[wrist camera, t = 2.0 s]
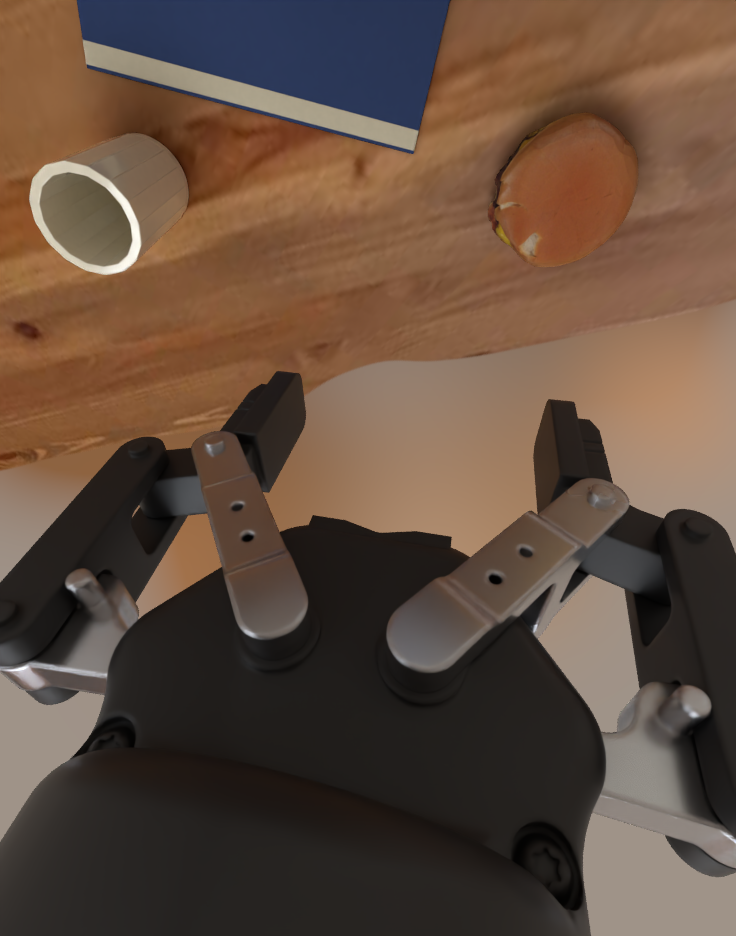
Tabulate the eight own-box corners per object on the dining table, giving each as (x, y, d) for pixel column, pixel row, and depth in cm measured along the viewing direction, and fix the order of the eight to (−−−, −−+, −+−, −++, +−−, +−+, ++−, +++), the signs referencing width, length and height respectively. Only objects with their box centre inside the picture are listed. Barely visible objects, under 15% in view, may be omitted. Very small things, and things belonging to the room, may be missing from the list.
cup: (111, 216, 36) (45, 262, 29) (96, 122, 32) (15, 149, 25) (190, 234, 37) (146, 283, 30) (186, 144, 33) (133, 176, 26)
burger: (652, 142, 33) (683, 155, 29) (572, 269, 39) (590, 292, 35) (529, 85, 31) (548, 91, 27) (465, 229, 37) (474, 249, 33)
